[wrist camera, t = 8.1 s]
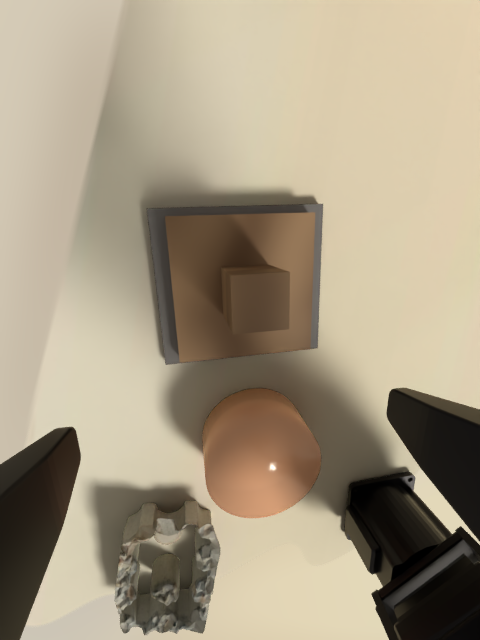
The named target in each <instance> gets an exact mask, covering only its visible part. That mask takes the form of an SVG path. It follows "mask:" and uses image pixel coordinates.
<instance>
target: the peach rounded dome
mask: <svg viewBox="0 0 480 640" xmlns="http://www.w3.org/2000/svg"><path fill="white" fill-rule="evenodd" d="M202 443H203V454H204V466H205V477H206V485H207V489H208V492H209V494H210V496H211V498H212V500H213V501H214V502H215V503H216V504H217V505H218V506H219V507H220V508H221V509H223V510H224V511H226V512H228V513H230V514H232V515H235V516H239V517H244V518H261V517H267V516H271V515H275V514H277V513H280V512H282V511H284V510H286V509H288V508H290V507H292V506H293V505H295V504H296V503H297V502H299V501H300V500H301V499H302V498H303V497H304V496H305V495H306V494H307V493H308V492H309V491H310V489H311V488H312V486H313V485H314V483H315V481H316V479H317V477H318V475H319V471H320V467H321V452H320V448H319V445H318V443H317V441H316V439H315V437H314V436H313V434H312V433H311V431H310V430H309V428H308V427H307V425H306V423H305V422H304V420H303V419H302V417H301V416H300V414H299V413H298V411H297V409H296V408H295V406H294V405H293V404H292V402H291V401H290V400H289V399H288V398H287V397H285V396H284V395H282V394H280V393H278V392H276V391H273V390H269V389H263V388H253V389H247V390H242V391H239V392H237V393H234V394H232V395H230V396H228V397H227V398H225V399H224V400H222V401H221V402H220V403H219V404H218V405H217V406H216V407H215V408H214V409H213V410H212V411H211V413H210V414H209V416H208V418H207V420H206V422H205V425H204V428H203V433H202Z"/></svg>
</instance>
